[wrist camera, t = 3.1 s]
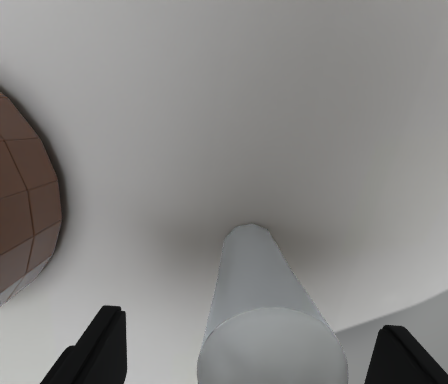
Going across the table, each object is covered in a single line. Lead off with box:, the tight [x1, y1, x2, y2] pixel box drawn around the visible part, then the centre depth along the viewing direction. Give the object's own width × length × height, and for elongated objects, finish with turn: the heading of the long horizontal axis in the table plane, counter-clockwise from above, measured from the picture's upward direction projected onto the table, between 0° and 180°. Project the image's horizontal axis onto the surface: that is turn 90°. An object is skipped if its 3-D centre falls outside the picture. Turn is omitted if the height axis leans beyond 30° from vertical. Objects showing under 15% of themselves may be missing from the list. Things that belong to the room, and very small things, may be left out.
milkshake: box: [197, 223, 348, 384], centre depth 10 cm, size 5×5×10 cm
